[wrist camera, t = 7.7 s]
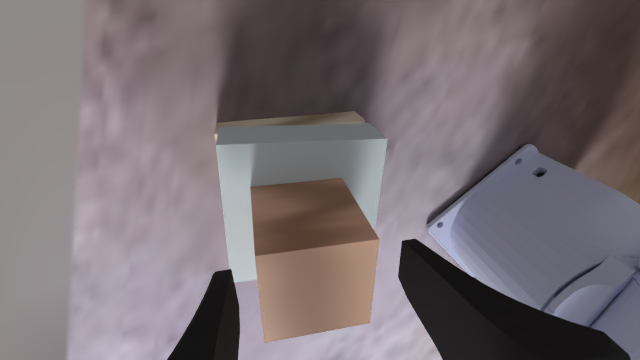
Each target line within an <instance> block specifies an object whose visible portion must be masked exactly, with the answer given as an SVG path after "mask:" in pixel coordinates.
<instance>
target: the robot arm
mask: <svg viewBox="0 0 640 360" xmlns="http://www.w3.org/2000/svg"><path fill="white" fill-rule="evenodd" d="M517 159H518V160H517ZM516 160H517V161H516ZM439 222H440V223H439ZM438 223H439V224H438ZM437 224H438V225H437ZM426 229H427V231H428V232H429V233H430V234H431V235H432V236H433V238H434V239H435V240H436V241H437V242H438V243H439V244H440V245H441V246H442V247H443V248H444V249H445V250H446V251H447V252H448V253H449V254H450V255H451V256H452V258H453V259H454V260H455V261H456V262H457V263H458V264H459V265H460V266H461V267H462V268H463V269H464V270H465V271H466V272H467V273H468V274H469V275H468V274H467V273H465V272H464V271H462V270H460V269H459V268H457V267H456V266H454V265H453V264H451V263H450V262H448V261H447V260H445V259H444V258H442V257H441V256H440V255H438V254H437V253H435V252H434V251H432V250H431V249H430V248H428V247H427V246H425V245H424V244H422V243H421V242H419V241H418V240H416V239H411V240H405V241H402V247H401V256H400V265H399V274H398V277H399V280H400V282H401V284H402V287H403V289H404V291H405V294H406V296H407V298H408V300H409V301H410V303H411V305H412V307H413V308H414V310H415V312H416V313H417V315H418V317H419V319H420V320H421V322H422V324H423V325H424V327H425V329H426V330H427V332H428V334H429V335H430V337H431V339H432V340H433V342H434V344H435V345H436V347H437V349H438V351H439V353H440V355H441V357H442V359H443V360H640V205H639V204H638V203H636V202H635V201H633V200H632V199H630V198H629V197H627V196H626V195H624V194H622V193H620V192H619V191H617V190H615V189H613V188H611V187H609V186H607V185H605V184H603V183H601V182H599V181H597V180H594V179H592V178H590V177H588V176H586V175H584V174H582V173H580V172H578V171H576V170H574V169H572V168H570V167H568V166H565V165H563V164H561V163H559V162H557V161H555V160H553V159H551V158H549V157H547V156H545V155H543V154H541V153H539V152H538V150H537V148H536V147H535V146H534V145H532V144H526V145H525V146H523V147H522V148H521V149H520V150H518V151H517V152H516V153H515V154H513V155H512V156H511V157H510V158H509V159H507V160H506V161H505V162H504V163H502V164H501V165H500V166H499V167H497V168H496V169H495V170H494V171H493V172H491V173H490V174H489V175H488V176H486V177H485V178H484V179H483V180H481V181H480V182H479V183H478V184H477V185H475V186H474V187H473V188H472V189H470V190H469V191H468V192H467V193H465V194H464V195H463V196H462V197H461V198H459V199H458V200H457V201H456V202H454V203H453V204H452V205H451V206H450V207H448V208H447V209H446V210H445V211H443V212H442V213H441V214H440V215H438V216H437V217H436V218H435V219H434V220H432V221H431V222H430V223H429V224H428V225H427V228H426ZM475 276H476V277H477V279H478V280H479V281H478V280H477V279H475V278H473V277H475ZM239 336H240V319H239V303H238V299H237V294H236V289H235V284H234V279H233V275H232V270H231V269H229V270H223V271H217V272H215V273H214V274H213V276H212V279H211V281H210V284H209V286H208V288H207V291H206V293H205V295H204V297H203V299H202V301H201V303H200V305H199V307H198V309H197V311H196V313H195V315H194V317H193V319H192V320H191V322H190V324H189V326H188V327H187V329H186V331H185V332H184V334H183V336H182V338H181V339H180V341H179V342H178V344H177V346H176V347H175V349H174V350H173V352H172V353H171V355H170V356H169V357H168V359H167V360H238V349H239Z"/></svg>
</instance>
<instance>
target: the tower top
mask: <svg viewBox="0 0 640 360" xmlns="http://www.w3.org/2000/svg"><path fill="white" fill-rule="evenodd" d="M387 140H388V138H386V137H385V136H384V135H383V134H382V133H381V132H380V131H378V130H377V129H376V128H375V127H374V126H373V125H372V124H370V123H356V124H318V125H281V126H243V127H219V130H218V136H217V141H216V151H217V160H218V169H219V178H220V187H221V196H222V205H223V215H224V224H225V233H226V242H227V251H228V260H229V269H231V270H232V275H233V279H234V282H242V281H251V280H257V272H256V263H255V252H254V237H253V221H252V206H251V191H250V187H253V186H264V185H274V184H284V183H295V182H305V181H316V180H326V179H336V178H342V179H343V180H344V182H345V184H346V185H347V187H348V188H349V190H350V192H351V193H352V195H353V197H354V198H355V200H356V202H357V203H358V205H359V207H360V208H361V210H362V211H363V213H364V215H365V216H366V218H367V220H368V221H369V223H370V225H371V226H372V228H373V230H374V231H375V225H376V218H377V211H378V204H379V197H380V190H381V182H382V175H383V168H384V161H385V154H386V147H387Z"/></svg>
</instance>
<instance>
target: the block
mask: <svg viewBox="0 0 640 360" xmlns="http://www.w3.org/2000/svg"><path fill="white" fill-rule="evenodd" d="M250 191H251V206H252V221H253V237H254V252H255V263H256V272H257V281H258V290H259V299H260V308H261V317H262V326H263V335H264V343H266V342H272V341H277V340H282V339H288V338H293V337H298V336H304V335H309V334H314V333H319V332H325V331H330V330H335V329H341V328H346V327H351V326H357V325H362V324H367V323H370V318H371V309H372V300H373V291H374V282H375V273H376V264H377V255H378V247H379V238H378V236H377V235H376V233H375V231H374V230H373V228H372V226H371V225H370V223H369V221H368V220H367V218H366V216H365V215H364V213H363V211H362V210H361V208H360V207H359V205H358V203H357V202H356V200H355V198H354V197H353V195H352V193H351V192H350V190H349V188H348V187H347V185H346V184H345V182H344V180H343V179H342V178H336V179H326V180H316V181H305V182H295V183H284V184H274V185H264V186H253V187H250Z"/></svg>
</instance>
